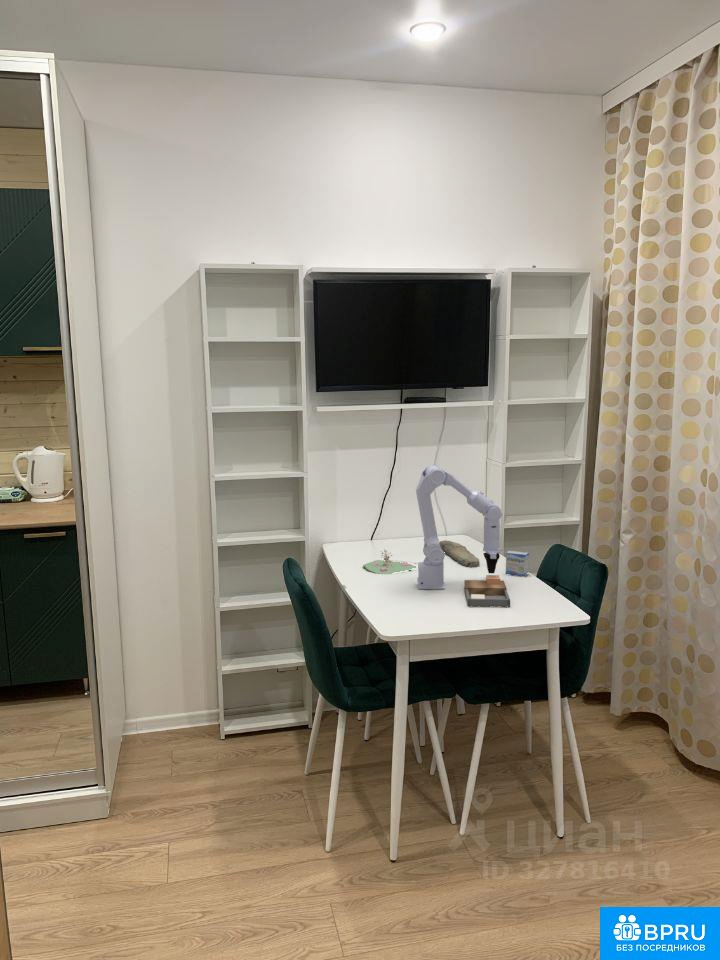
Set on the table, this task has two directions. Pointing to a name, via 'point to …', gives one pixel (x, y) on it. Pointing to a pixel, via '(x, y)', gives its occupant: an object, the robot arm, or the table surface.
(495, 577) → the terracotta tile
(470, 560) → the elongated rock
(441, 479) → the robot arm
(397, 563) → the plant
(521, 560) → the medicine box
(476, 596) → the cream tile
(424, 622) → the table surface
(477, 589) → the walnut board
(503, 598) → the bin
